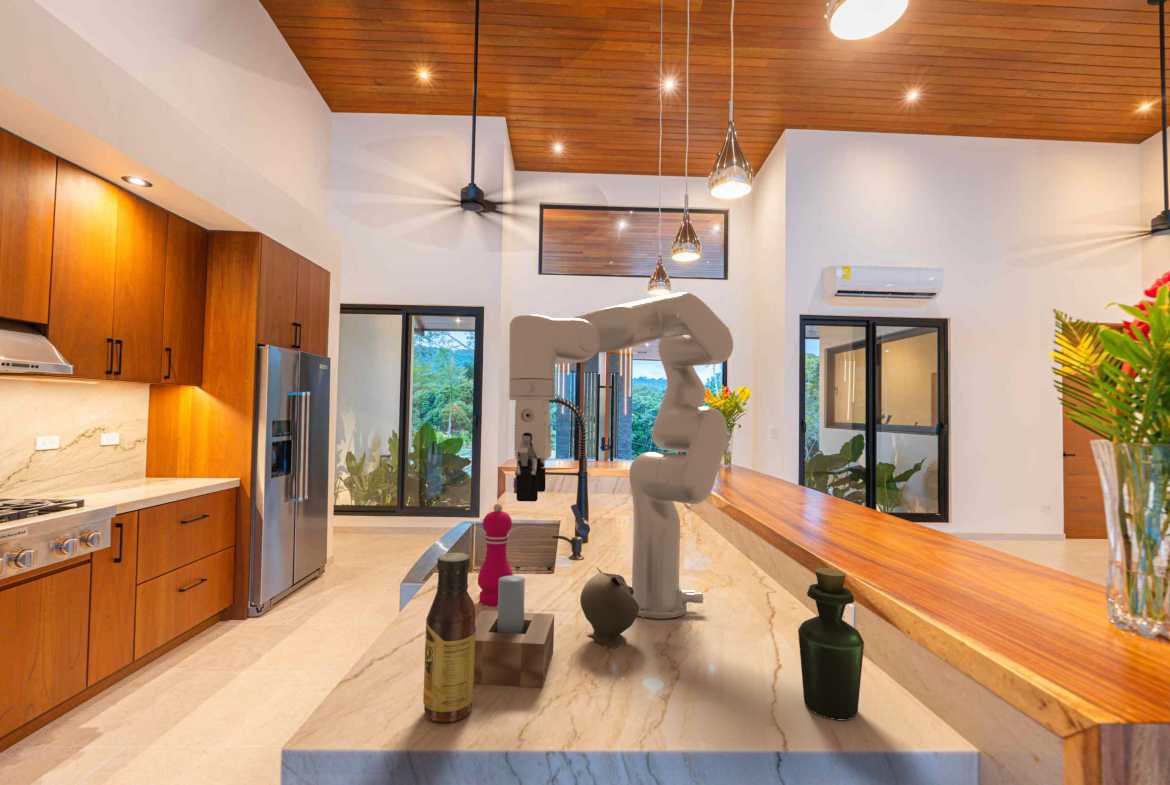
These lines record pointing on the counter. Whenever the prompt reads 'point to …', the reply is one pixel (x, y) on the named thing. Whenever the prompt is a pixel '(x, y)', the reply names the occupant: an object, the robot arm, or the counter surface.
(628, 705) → the counter surface
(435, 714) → the sauce bottle
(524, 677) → the socket block
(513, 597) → the peg
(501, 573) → the pepper mill
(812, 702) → the potion bottle
